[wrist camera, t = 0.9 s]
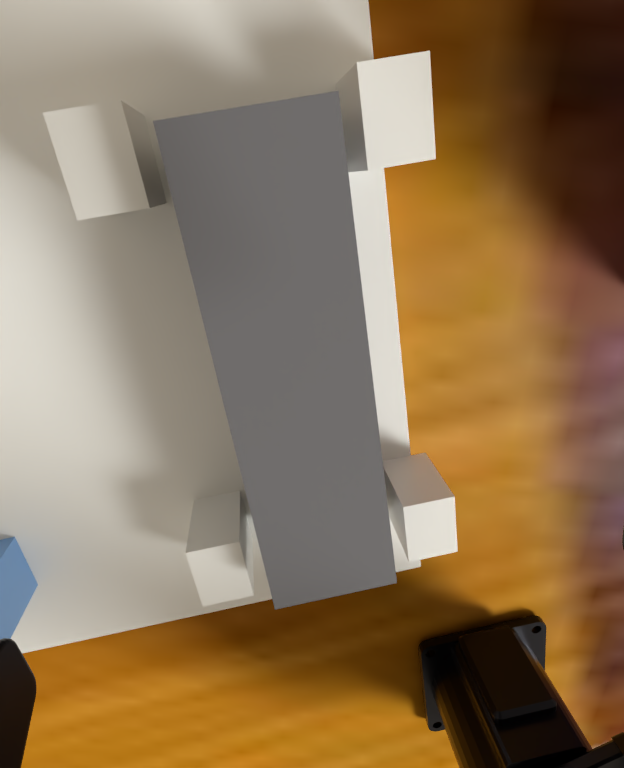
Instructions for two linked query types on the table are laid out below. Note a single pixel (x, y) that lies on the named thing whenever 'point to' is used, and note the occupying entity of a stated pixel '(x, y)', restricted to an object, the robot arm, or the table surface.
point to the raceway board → (164, 303)
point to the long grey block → (287, 334)
